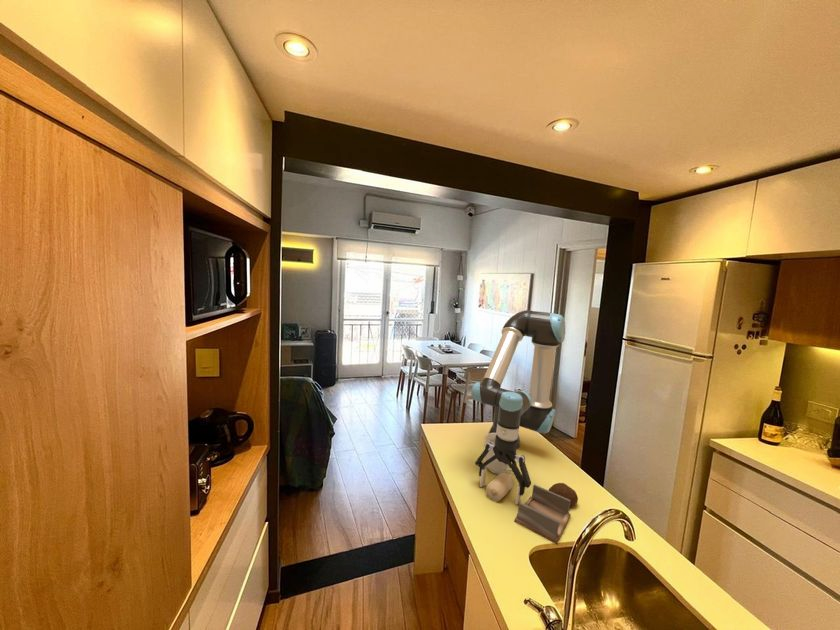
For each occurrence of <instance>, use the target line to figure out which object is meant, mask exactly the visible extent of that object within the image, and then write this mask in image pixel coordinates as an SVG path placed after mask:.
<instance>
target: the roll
mask: <svg viewBox="0 0 840 630" xmlns="http://www.w3.org/2000/svg"><path fill="white" fill-rule="evenodd" d="M513 486H514V479H513V478H512V476H511V475H510V473H509V472H501V473H500V474H497V475H496V476H495V477H494V478H493V479H492V480H491V481H490V482H489V483H488V484H487V485H486V488H485V492H486V495H487V497H488V498H489V499H490V500H492V501H493V502H500V501H501V500H502V499H503V498H504V497H505V496H506V495H507V493H508V492H509V491H510V490H511V489H512V487H513Z"/></svg>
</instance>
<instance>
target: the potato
mask: <svg viewBox="0 0 840 630" xmlns="http://www.w3.org/2000/svg"><path fill="white" fill-rule="evenodd" d="M548 490H549V491H551V492H553V493H555V494H558V495H560V496H562V497H565V498H567V499H569V500H571V501H570V507H572V506H575V505H576V504H577V503H578V501H579V497H578V495H577V492H576V490H575V489H573V488H572V487H570V486H568V484H566V483H565V482H564V483H563V482H558V483H554V484H552V486H551V487H549V488H548Z"/></svg>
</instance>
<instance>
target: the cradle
mask: <svg viewBox="0 0 840 630" xmlns="http://www.w3.org/2000/svg"><path fill="white" fill-rule="evenodd" d="M531 493H532V494H531V496H529V497H528V499H526V501H525V503H523V502H521V501H520V502H519V504H518V509H517V513H516V516H515V517H514V523H516V524H519V525H520V526H522V527H524V528H525V529H528V530H530V531H532V532H533V533H535V534H537V535H539V536H541V537H543V538H544V539H547V540H549V541H550V542H552V543H555V544H558V542H559V541H560V539H561V536H562V534H563V532H564V530H565V528H566V526H567V524H568V522H569V521H570V518H571V515H572V514H571V513H570V507H571V506H570V501H571V500H569V499H567V498H565V497H562V496H560V495H558V494H555V493H553V492H551V491H549V489H546V488H544V487H542V486H539V485H537V484H535V483H534V484H533V485H532V492H531Z"/></svg>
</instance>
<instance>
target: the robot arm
mask: <svg viewBox="0 0 840 630" xmlns="http://www.w3.org/2000/svg"><path fill="white" fill-rule="evenodd" d="M500 333H501V337H500V339H499V342H498V344H497V347H496V348H495V351H494V353H493V356H492V358H491V360H490V362H489V365H488V367H487V370H486V372H485V374H484V375H483V379H482V381H476V382H475V383H474V384H473V385H472V388H471V391H470V392H471V396H470V397H471V399H472V400H474V401H476V402H478V403H481V404H485V405H488V406H492V407H494V412H493V418H492V421H493V422H492V425H491V427H490V429H489V431H488V434H489V433H496V434H497V435H496V437H495V446H493V445H492V444H491V442H489V443H488V444H486V447H485V446H484V449H485V450H484V449H483V451H482V452H481V454H480V455H479V457H478V458H477V459H476V461H475V462H474V463H475V466H478V467H479V471H478V476H479V477H480V480H479V481H480V483H479V487H480V488H483V487H484V486H485V485H486V480H487V479H486V478H487V470H488V468H487V466H486V465H488V464H489V463H491V462H492V461H494V460H495V459H497V460H498V461H499V462H503V463H504V464H506V465H507V464H508V465H509V466H508V468H510V470H512V471H513V472H512V473H513V475H514V477H515V479H516V480H517V483H518V485H517V488H516V495H515V496H516V497H515V503H514V504H515V505H517V506H519V503H520V502H521V499H522V497H524V496H523V495H524V494H525V489H526V488H527V489H529V488H530V487H531V485H532V481H531V478H530V474H529V472H528V469H527V465H526V457H525V455H524V454H523V455H519V454H517V449H518V448H520V446H521V444H520V443H521V440H520V434H519V432H520V427H521V428H524V429H527V430H531V431H533V432H536V433H541V434H544V435H545V434H548V433H549V432H550V430H551V428H552V426H553V422H554V420H555V416H556V409H554V408H553V403H552V402H551V400H550V394H551V388H552V387H551V386H552V379H553V372H554V371H553V370H554V362H555V354H556V353H555V352H556V349H557V348H558V347H559V346H561V345H560V344H561V343H563V342H564V341H565V337H566V322H565V318H564V316H563V315H561V314H559V313H558V314H557V313H554V312H546V311H537V310H536V311H535V310H527V309H526V310H525V309H524V310H522V311H519V312H517V313H515V314H513V315H512V316H511V317H510V318H509V319H507V321H506V322H505V324H504V325H503V327H502V329H501V332H500ZM524 337H528V338H529V337H530V338H531V343H532V345H533V346H534V348H533V355H532V356H533V357H532V367H531V377H530V386H529V391H528V392H529V393H528V392H526V391H524V390H516V391H513V390H508V389H506V388H502V384H503V382H504V380H505V379H504V378H505V377H506V375H507V373H508V369H509V367H510V365H511V362H512V359H513V356H514V354H515V353H516V350H517V346H518V345H519V342H521V341H522V340H523V338H524ZM492 449H493V451H494V454H495V455H494V456H492V457H491V458H490V459H488V460H487V461H485V456H486V455H487V454H488V452H489V451H491V450H492ZM515 459H516V460H517V465H516V461H515ZM483 460H484V462H483ZM518 466H519V467H518ZM519 468H520V469H519Z"/></svg>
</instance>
